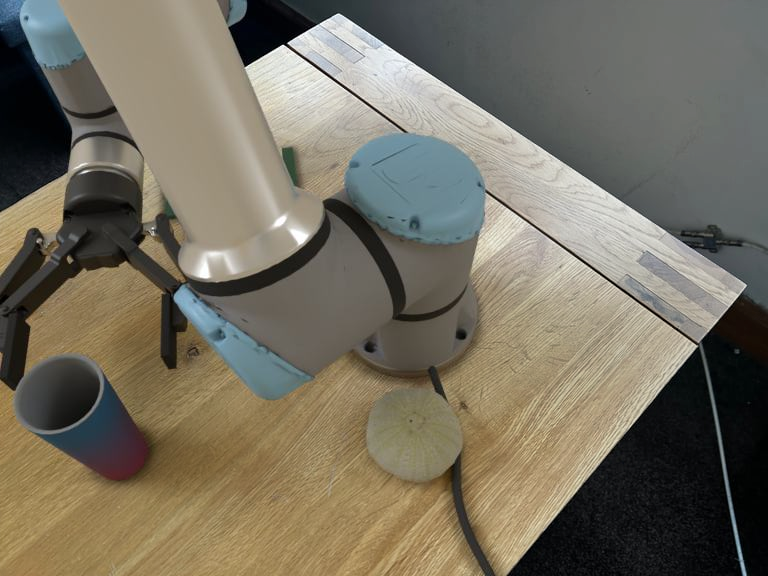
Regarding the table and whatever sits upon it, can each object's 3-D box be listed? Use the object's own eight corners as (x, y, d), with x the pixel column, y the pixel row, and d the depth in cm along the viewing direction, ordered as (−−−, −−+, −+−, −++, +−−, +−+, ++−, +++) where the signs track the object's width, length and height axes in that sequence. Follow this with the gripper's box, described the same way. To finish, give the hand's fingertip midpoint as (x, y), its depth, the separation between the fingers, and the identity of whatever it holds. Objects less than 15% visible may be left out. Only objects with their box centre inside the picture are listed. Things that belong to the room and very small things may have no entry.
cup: (166, 424, 65) (115, 356, 53) (145, 493, 62) (87, 438, 49) (98, 417, 66) (33, 348, 53) (75, 486, 62) (-2, 429, 49)
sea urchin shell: (420, 509, 59) (378, 443, 57) (378, 481, 66) (339, 421, 64) (489, 442, 63) (452, 377, 60) (442, 422, 70) (407, 363, 67)
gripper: (231, 201, 74) (239, 371, 63) (-2, 227, 72) (-36, 410, 60) (217, 153, 68) (224, 334, 57) (-38, 181, 65) (-83, 375, 54)
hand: (90, 373), depth 58 cm, fingers open, 13 cm apart
